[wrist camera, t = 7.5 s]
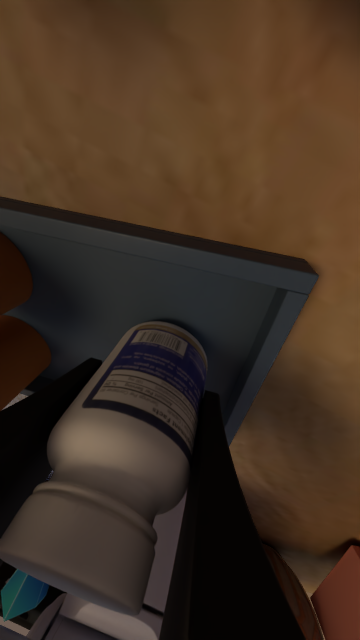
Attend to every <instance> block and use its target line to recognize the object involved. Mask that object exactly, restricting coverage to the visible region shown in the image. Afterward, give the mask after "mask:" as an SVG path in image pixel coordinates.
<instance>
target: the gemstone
mask: <svg viewBox="0 0 360 640" xmlns="http://www.w3.org/2000/svg"><path fill="white" fill-rule="evenodd" d="M48 588H49V584H47V583H45V582H42V581H40V580H38V579H36V578H34V577H32V576H30V575H28V574H26V573H25V572H23V571H21V570H19V569H17V570H16V571H15V573H14V574H13V575H12V577H11V578H10V579H9V581H8V582H7V583H6V585H5V586H4V587H3V589H2V590H1V597H2V608H3V619H4V622H5V621H7V620H9V619H11V618H13V617H16V616H18V615H20V614H22V613H24V612H27V611H29V610H31V609H33V608H35V607H36V606H37V605H38V604H39V603H40V602H41V601H42V600H43V598H44V597H45V596H46V594H47V591H48Z"/></svg>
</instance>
